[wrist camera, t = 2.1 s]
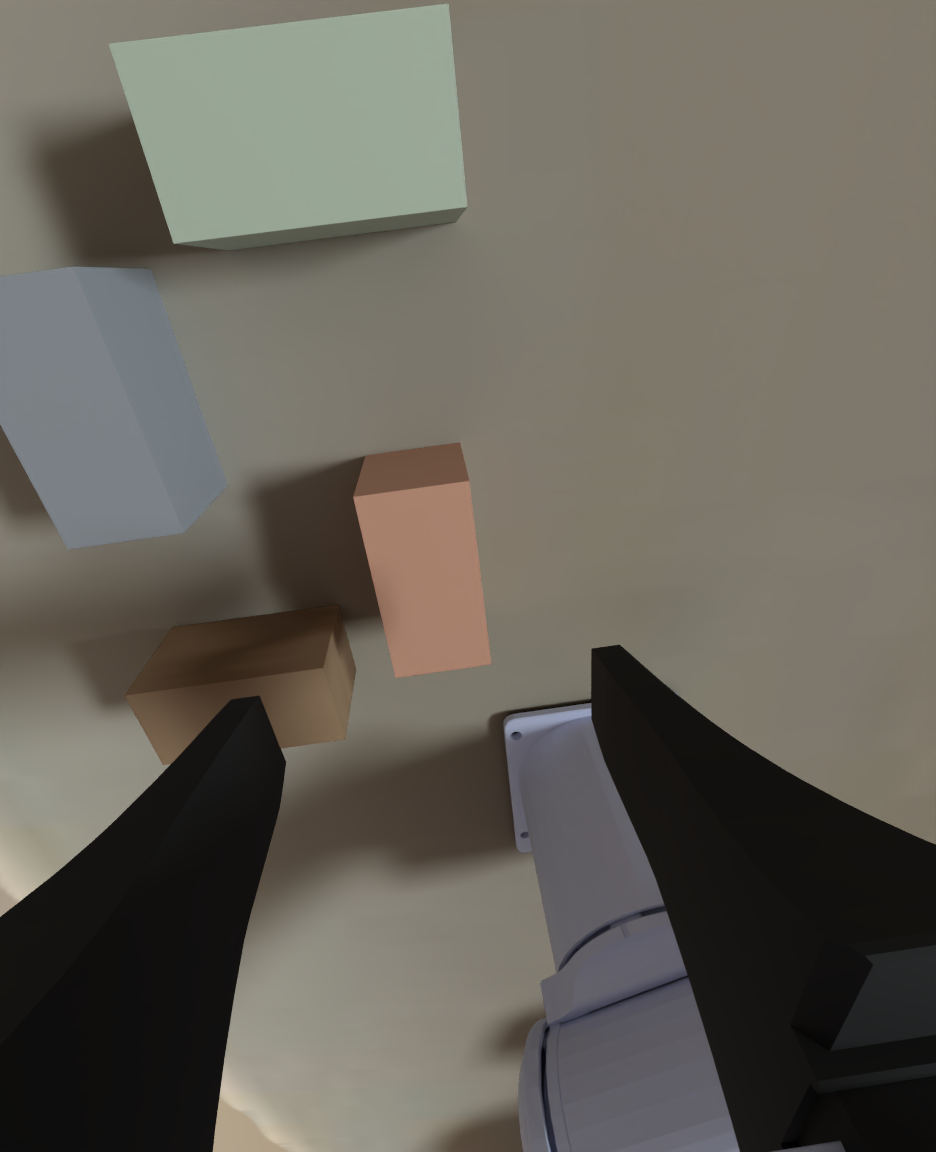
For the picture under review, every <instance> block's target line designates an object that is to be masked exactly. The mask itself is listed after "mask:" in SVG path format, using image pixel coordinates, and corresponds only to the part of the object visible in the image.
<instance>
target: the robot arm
mask: <svg viewBox="0 0 936 1152" xmlns="http://www.w3.org/2000/svg"><path fill="white" fill-rule="evenodd" d="M503 728H504V737H505V747H506V756H507V765H508V775H509V784H510V793H511V803H512V812H513V821H514V831H515V840H516V847H517V850H518V851H520V852H523V853H528V852H532V853H533V858H534V863H535V868H536V873H537V878H538V883H539V888H540V893H541V898H542V903H543V908H544V913H545V918H546V923H547V928H548V933H549V938H550V943H551V948H552V953H553V958H554V963H555V968H556V974H554V975H552V976H551V977H549V978H546V979H544V980H542V981H541V983H540V985H541V990H542V996H543V1002H544V1008H545V1014H546V1017H545V1018H542V1019H540V1020H539V1021H537V1022H536V1023H534V1025H533V1026H532V1028H531V1029H530V1031H529V1034H528V1037H527V1040H526V1043H525V1049H524V1055H523V1059H522V1063H521V1068H520V1074H519V1085H518V1108H519V1123H520V1133H521V1141H522V1148H523V1152H936V845H935V844H933V843H930V842H928V841H925V840H923V839H921V838H919V837H916V836H914V835H912V834H910V833H907V832H905V831H903V830H901V829H899V828H897V827H894V826H892V825H890V824H888V823H886V822H884V821H881V820H879V819H877V818H875V817H873V816H871V815H868V814H866V813H864V812H862V811H860V810H858V809H856V808H854V807H852V806H850V805H848V804H846V803H844V802H842V801H840V800H838V799H837V798H835V797H833V796H831V795H829V794H827V793H825V792H823V791H822V790H820V789H818V788H816V787H814V786H812V785H810V784H809V783H807V782H805V781H803V780H801V779H799V778H798V777H796V776H794V775H793V774H791V773H789V772H787V771H786V770H784V769H782V768H781V767H779V766H777V765H776V764H774V763H772V762H771V761H769V760H768V759H766V758H764V757H763V756H761V755H760V754H758V753H756V752H755V751H753V750H752V749H750V748H748V747H747V746H745V745H744V744H742V743H741V742H739V741H738V740H736V739H735V738H734V737H732V736H731V735H729V734H728V733H727V732H725V731H724V730H722V729H721V728H720V727H718V726H717V725H715V724H714V723H713V722H711V721H710V720H709V719H707V718H706V717H705V716H703V715H702V714H701V713H700V712H698V711H697V710H696V709H694V708H693V707H692V706H691V705H689V704H688V703H687V702H686V701H684V700H683V699H682V698H681V697H680V696H679V695H678V694H677V693H675V692H673V691H672V690H671V689H670V688H669V687H667V686H666V685H665V684H664V683H663V682H661V681H660V680H659V679H658V678H657V677H656V676H655V675H653V674H652V673H651V672H650V671H649V670H648V669H647V668H645V667H644V666H643V665H642V664H641V663H640V662H639V661H638V660H636V659H635V658H634V657H633V656H632V655H631V654H630V653H629V652H627V651H626V650H625V649H624V648H623V647H621V646H620V645H614V646H607V647H600V648H593V649H592V658H591V703H587V704H580V705H573V706H566V707H559V708H552V709H545V710H538V711H530V712H523V713H516V714H511V715H509V716H507V717H506V718H505V719H504V721H503ZM513 732H518V733H516V734H512V733H513ZM285 766H286V761H285V758H284V756H283V753H282V751H281V748H280V746H279V743H278V741H277V738H276V736H275V733H274V731H273V728H272V726H271V723H270V720H269V718H268V715H267V713H266V710H265V708H264V705H263V703H262V700H261V698H260V695H258V696H251V697H244V698H237V699H231V700H230V701H229V702H228V703H227V704H226V705H225V706H224V707H223V708H222V709H221V710H220V711H219V713H218V714H217V715H216V716H215V717H214V718H213V719H212V720H211V721H210V722H209V723H208V724H207V726H206V727H205V728H204V729H203V730H202V731H201V732H200V733H199V734H198V735H197V737H196V738H195V739H194V740H193V741H192V742H191V743H190V744H189V745H188V746H187V748H186V749H185V750H184V751H183V752H182V753H181V754H180V755H179V756H178V757H177V758H176V759H175V760H174V761H173V763H172V764H171V765H170V766H169V767H168V768H167V769H166V770H165V771H164V772H163V773H162V774H161V775H160V776H159V777H158V779H157V780H156V781H155V782H154V783H153V784H152V785H150V786H149V787H148V788H147V789H146V790H145V791H144V792H143V793H142V794H141V795H140V796H139V797H138V798H137V799H136V800H135V801H134V802H133V803H132V804H131V805H130V806H129V807H128V808H127V809H126V810H125V811H124V812H123V813H122V814H121V815H120V816H119V817H118V818H117V819H116V820H115V821H114V822H113V823H112V824H111V825H110V826H109V827H108V828H107V829H106V830H105V831H104V832H102V833H101V834H100V835H99V836H98V837H97V838H96V839H95V840H94V841H93V842H91V843H90V844H89V845H88V846H87V847H86V848H85V849H83V850H82V851H81V852H80V853H79V854H78V855H76V856H75V857H74V858H73V859H72V860H71V861H70V862H68V863H67V864H66V865H65V866H64V867H63V868H61V869H60V870H59V871H58V872H57V873H55V874H54V875H53V876H52V877H51V878H49V879H48V880H47V881H46V882H44V883H43V884H42V885H40V886H39V887H38V888H37V889H35V890H34V891H33V892H32V893H30V894H29V895H28V896H26V897H25V898H24V899H23V900H21V901H20V902H19V903H18V904H17V905H15V906H14V907H12V908H11V909H10V910H9V911H7V912H6V913H5V914H3V915H2V916H1V917H0V1152H213V1143H214V1133H215V1125H216V1117H217V1110H218V1103H219V1095H220V1087H221V1080H222V1072H223V1065H224V1057H225V1051H226V1044H227V1038H228V1032H229V1025H230V1019H231V1013H232V1006H233V1000H234V994H235V988H236V983H237V977H238V971H239V966H240V960H241V955H242V949H243V944H244V939H245V935H246V930H247V926H248V922H249V918H250V914H251V910H252V907H253V903H254V900H255V896H256V892H257V889H258V885H259V882H260V878H261V874H262V871H263V867H264V864H265V860H266V857H267V853H268V849H269V846H270V842H271V838H272V835H273V831H274V827H275V824H276V820H277V816H278V812H279V808H280V802H281V796H282V789H283V782H284V774H285Z"/></svg>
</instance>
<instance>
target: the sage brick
mask: <svg viewBox="0 0 936 1152" xmlns="http://www.w3.org/2000/svg"><path fill="white" fill-rule="evenodd" d="M109 46H110V49H111V52H112V55H113V58H114V61H115V64H116V68H117V71H118V74H119V77H120V80H121V83H122V86H123V89H124V92H125V95H126V98H127V101H128V105H129V108H130V111H131V114H132V117H133V120H134V123H135V126H136V129H137V132H138V135H139V138H140V142H141V145H142V148H143V151H144V154H145V157H146V160H147V163H148V166H149V169H150V172H151V176H152V179H153V182H154V185H155V188H156V191H157V194H158V197H159V200H160V203H161V206H162V209H163V213H164V216H165V219H166V222H167V225H168V228H169V231H170V234H171V237H172V240H173V243H174V244H180V245H188V246H196V247H203V248H211V249H219V250H227V251H230V250H237V249H245V248H253V247H261V246H269V245H277V244H285V243H293V242H301V241H309V240H317V239H325V238H333V237H341V236H349V235H357V234H365V233H372V232H380V231H388V230H396V229H404V228H412V227H420V226H428V225H436V224H444V223H452V222H456V221H457V220H458V219H459V217H460V216H461V215H462V213H463V212H464V211H465V209H466V208H467V198H466V188H465V177H464V166H463V155H462V144H461V133H460V123H459V112H458V101H457V90H456V79H455V68H454V58H453V47H452V36H451V25H450V14H449V4H441V5H433V6H425V7H416V8H408V9H399V10H391V11H382V12H374V13H365V14H357V15H349V16H340V17H332V18H323V19H315V20H306V21H298V22H289V23H281V24H272V25H264V26H256V27H247V28H239V29H230V30H222V31H213V32H205V33H196V34H188V35H179V36H171V37H163V38H154V39H146V40H137V41H129V42H120V43H112V44H109Z"/></svg>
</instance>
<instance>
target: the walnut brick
mask: <svg viewBox="0 0 936 1152" xmlns="http://www.w3.org/2000/svg"><path fill="white" fill-rule="evenodd" d="M355 673H356V667H355V664H354V660H353V656H352V652H351V649H350V645H349V641H348V638H347V634H346V630H345V627H344V623H343V619H342V616H341V612H340V608H339V605H332V606H324V607H317V608H310V609H303V610H295V611H288V612H281V613H273V614H266V615H259V616H252V617H244V618H237V619H230V620H223V621H215V622H208V623H201V624H193V625H186V626H179V627H172V629H171V630H170V632H169V633H168V634H167V636H166V637H165V639H164V640H163V642H162V643H161V644H160V646H159V647H158V649H157V650H156V652H155V653H154V654H153V656H152V657H151V659H150V660H149V662H148V663H147V664H146V666H145V667H144V669H143V670H142V672H141V673H140V674H139V676H138V677H137V679H136V680H135V682H134V683H133V684H132V686H131V687H130V689H129V690H128V692H127V693H126V694H125V697H126V699H127V701H128V703H129V705H130V706H131V708H132V710H133V712H134V714H135V715H136V717H137V719H138V721H139V723H140V724H141V726H142V728H143V730H144V732H145V733H146V735H147V737H148V739H149V741H150V742H151V744H152V746H153V748H154V750H155V751H156V753H157V755H158V757H159V759H160V760H161V762H162V764H163V765H167V764H172V763H173V761H174V760H175V759H176V758H177V757H178V756H179V755H180V754H181V753H182V752H183V751H184V750H185V749H186V748H187V746H188V745H189V744H190V743H191V742H192V741H193V740H194V739H195V738H196V737H197V735H198V734H199V733H200V732H201V731H202V730H203V729H204V728H205V727H206V726H207V724H208V723H209V722H210V721H211V720H212V719H213V718H214V717H215V716H216V715H217V714H218V713H219V711H220V710H221V709H222V708H223V707H224V706H225V705H226V704H227V703H228V702H229V701H230V700H231V699H237V698H244V697H251V696H258V695H260V698H261V700H262V703H263V705H264V708H265V710H266V713H267V715H268V718H269V720H270V723H271V726H272V728H273V731H274V733H275V736H276V738H277V741H278V743H279V746H280V748H287V747H294V746H301V745H308V744H315V743H322V742H329V741H336V740H343V739H345V737H346V731H347V724H348V718H349V712H350V705H351V699H352V692H353V686H354V680H355Z"/></svg>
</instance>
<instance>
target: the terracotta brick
mask: <svg viewBox="0 0 936 1152" xmlns="http://www.w3.org/2000/svg"><path fill="white" fill-rule="evenodd" d="M353 498H354V503H355V507H356V511H357V515H358V520H359V524H360V528H361V532H362V537H363V541H364V545H365V549H366V554H367V558H368V562H369V566H370V571H371V575H372V579H373V583H374V588H375V592H376V596H377V600H378V605H379V609H380V613H381V617H382V622H383V626H384V630H385V634H386V639H387V643H388V647H389V651H390V656H391V660H392V664H393V668H394V673H395V677H396V678H399V677H406V676H413V675H420V674H427V673H434V672H441V671H448V670H455V669H462V668H469V667H476V666H483V665H490V664H491V656H490V648H489V640H488V632H487V623H486V615H485V607H484V599H483V590H482V582H481V574H480V565H479V557H478V549H477V541H476V532H475V524H474V516H473V508H472V499H471V491H470V483H469V478H468V474H467V470H466V465H465V461H464V457H463V453H462V449H461V445H460V443H454V444H447V445H440V446H432V447H425V448H418V449H411V450H404V451H396V452H389V453H382V454H375V455H368V456H365V459H364V462H363V466H362V469H361V472H360V476H359V479H358V483H357V486H356V489H355V493H354V496H353Z"/></svg>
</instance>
